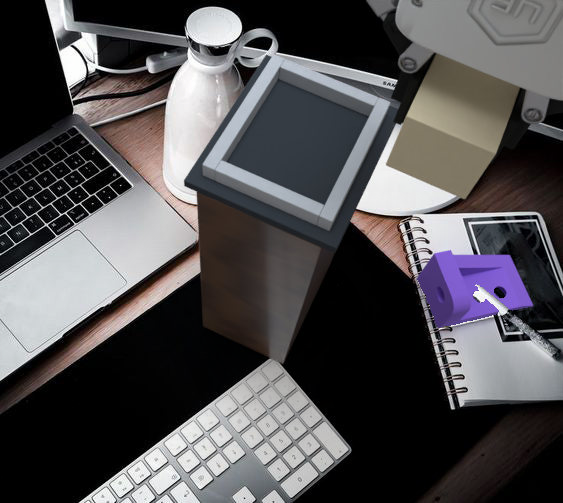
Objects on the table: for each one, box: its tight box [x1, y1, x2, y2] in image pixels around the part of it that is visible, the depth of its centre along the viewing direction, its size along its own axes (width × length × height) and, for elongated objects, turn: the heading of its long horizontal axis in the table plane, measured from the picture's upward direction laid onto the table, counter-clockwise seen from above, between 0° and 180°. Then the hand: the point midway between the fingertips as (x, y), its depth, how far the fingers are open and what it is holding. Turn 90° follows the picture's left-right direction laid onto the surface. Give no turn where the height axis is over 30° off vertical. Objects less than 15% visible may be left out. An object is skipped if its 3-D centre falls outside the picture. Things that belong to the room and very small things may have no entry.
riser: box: [196, 192, 335, 365], centre depth 60 cm, size 10×14×28 cm
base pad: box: [183, 54, 398, 254], centre depth 46 cm, size 12×14×2 cm
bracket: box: [416, 249, 534, 328], centre depth 72 cm, size 12×7×7 cm, turn 105°
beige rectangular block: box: [385, 53, 520, 200], centre depth 36 cm, size 5×9×4 cm, turn 155°
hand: (449, 124), depth 38 cm, fingers closed on beige rectangular block, 5 cm apart
